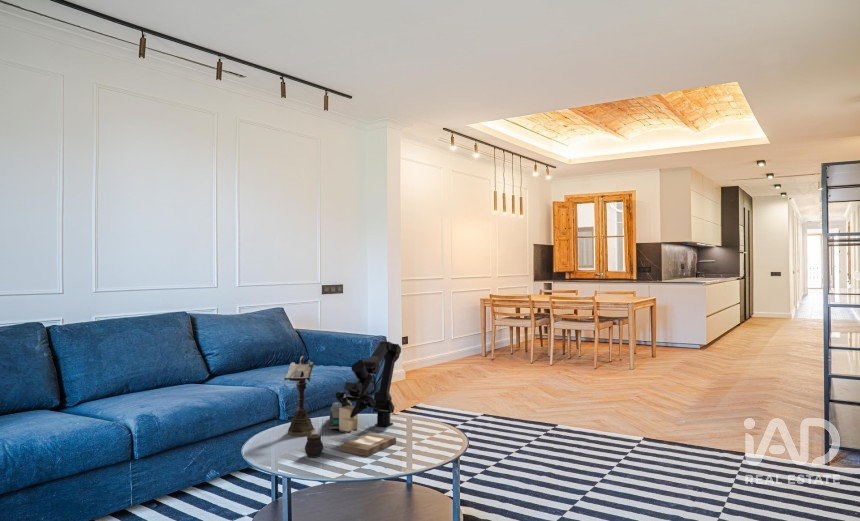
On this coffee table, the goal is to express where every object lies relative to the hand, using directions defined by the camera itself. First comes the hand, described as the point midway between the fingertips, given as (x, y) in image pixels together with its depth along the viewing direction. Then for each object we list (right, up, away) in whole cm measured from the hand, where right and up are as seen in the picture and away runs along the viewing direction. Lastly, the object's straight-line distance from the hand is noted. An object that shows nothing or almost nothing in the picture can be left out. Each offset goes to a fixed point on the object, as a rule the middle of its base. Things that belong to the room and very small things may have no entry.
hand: (346, 416), depth 248 cm
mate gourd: (-11, -12, -15) cm, 22 cm away
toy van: (-7, -12, +31) cm, 34 cm away
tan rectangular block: (+1, -7, +1) cm, 7 cm away
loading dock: (+10, -11, -4) cm, 16 cm away
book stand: (-22, -12, +15) cm, 29 cm away
